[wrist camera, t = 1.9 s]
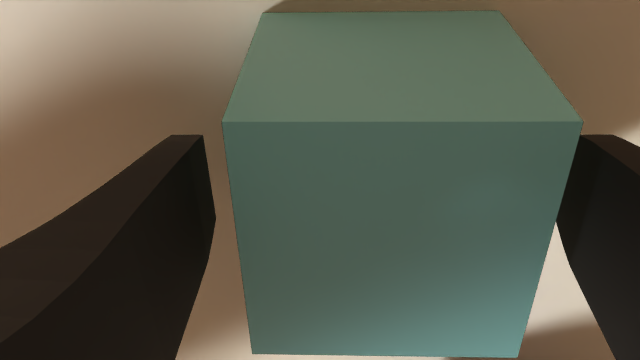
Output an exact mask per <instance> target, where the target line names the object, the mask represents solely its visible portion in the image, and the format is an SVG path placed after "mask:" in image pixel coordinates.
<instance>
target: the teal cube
mask: <svg viewBox="0 0 640 360" xmlns="http://www.w3.org/2000/svg"><path fill="white" fill-rule="evenodd" d="M583 122H584V121H583V120H582V119H581V117H580V116H579V115H578V113H577V112H576V111H575V109H574V108H573V107H572V106H571V104H570V103H569V102H568V100H567V99H566V98H565V96H564V95H563V94H562V92H561V91H560V90H559V89H558V87H557V86H556V85H555V83H554V82H553V81H552V79H551V78H550V77H549V75H548V74H547V73H546V71H545V70H544V69H543V68H542V66H541V65H540V64H539V62H538V61H537V60H536V58H535V57H534V56H533V54H532V53H531V52H530V50H529V49H528V48H527V47H526V45H525V44H524V43H523V41H522V40H521V39H520V37H519V36H518V35H517V33H516V32H515V31H514V29H513V28H512V27H511V26H510V24H509V23H508V22H507V20H506V19H505V18H504V16H503V15H502V14H501V12H500V11H396V12H280V13H262V16H261V18H260V21H259V23H258V26H257V29H256V31H255V34H254V37H253V39H252V42H251V45H250V47H249V50H248V53H247V55H246V58H245V61H244V63H243V66H242V69H241V71H240V74H239V76H238V79H237V82H236V84H235V87H234V90H233V92H232V95H231V98H230V100H229V103H228V106H227V108H226V111H225V114H224V116H223V119H222V130H223V137H224V145H225V153H226V160H227V168H228V175H229V183H230V190H231V198H232V205H233V213H234V220H235V228H236V235H237V243H238V250H239V258H240V266H241V273H242V281H243V288H244V296H245V303H246V311H247V318H248V326H249V333H250V341H251V348H252V354H288V355H357V356H426V357H495V358H517V357H518V354H519V350H520V347H521V343H522V340H523V336H524V332H525V329H526V325H527V322H528V318H529V315H530V311H531V307H532V304H533V300H534V297H535V293H536V290H537V286H538V282H539V279H540V275H541V272H542V268H543V265H544V261H545V257H546V254H547V250H548V247H549V243H550V240H551V236H552V233H553V229H554V225H555V222H556V218H557V215H558V211H559V208H560V204H561V200H562V197H563V193H564V190H565V186H566V183H567V179H568V175H569V172H570V168H571V165H572V161H573V158H574V154H575V150H576V147H577V143H578V140H579V136H580V133H581V129H582V125H583Z"/></svg>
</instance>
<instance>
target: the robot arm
mask: <svg viewBox="0 0 640 360" xmlns="http://www.w3.org/2000/svg"><path fill="white" fill-rule="evenodd" d="M215 221H216V215H215V208H214V202H213V196H212V189H211V183H210V177H209V171H208V164H207V158H206V152H205V146H204V139H203V135H171V136H169V137H168V138H166V139H165V140H163V141H162V142H160V143H159V144H158V145H156V146H155V147H153V148H152V149H151V150H149V151H148V152H147V153H146V154H144V155H143V156H142V157H140V158H139V159H138V160H136V161H135V162H134V163H132V164H131V165H130V166H128V167H127V168H126V169H124V170H123V171H122V172H120V173H119V174H118V175H116V176H115V177H114V178H112V179H111V180H110V181H108V182H107V183H106V184H104V185H103V186H101V187H100V188H98V189H97V190H95V191H94V192H92V193H91V194H90V195H88V196H87V197H85V198H84V199H82V200H81V201H79V202H78V203H76V204H75V205H73V206H72V207H70V208H69V209H67V210H66V211H64V212H63V213H61V214H60V215H58V216H56V217H55V218H53V219H52V220H50V221H48V222H47V223H45V224H43V225H42V226H40V227H38V228H36V229H35V230H33V231H31V232H29V233H27V234H26V235H24V236H22V237H20V238H18V239H17V240H15V241H13V242H11V243H9V244H7V245H5V246H3V247H1V248H0V360H175V358H176V355H177V352H178V349H179V346H180V343H181V340H182V337H183V334H184V331H185V328H186V325H187V322H188V319H189V316H190V313H191V311H192V308H193V305H194V302H195V299H196V296H197V293H198V290H199V287H200V284H201V281H202V278H203V275H204V272H205V269H206V266H207V263H208V259H209V254H210V249H211V244H212V238H213V233H214V227H215ZM556 223H557V227H558V230H559V233H560V237H561V240H562V244H563V247H564V250H565V253H566V256H567V259H568V262H569V265H570V267H571V269H572V271H573V273H574V275H575V278H576V280H577V282H578V284H579V286H580V288H581V290H582V292H583V294H584V296H585V298H586V300H587V302H588V304H589V306H590V308H591V310H592V312H593V314H594V317H595V319H596V321H597V323H598V325H599V327H600V329H601V331H602V333H603V335H604V337H605V339H606V341H607V343H608V345H609V347H610V349H611V351H612V353H613V355H614V357H615V359H616V360H640V147H638V146H636V145H634V144H632V143H630V142H628V141H626V140H624V139H622V138H619V137H617V136H615V135H580V136H579V140H578V143H577V147H576V150H575V154H574V158H573V161H572V165H571V168H570V172H569V175H568V179H567V183H566V186H565V190H564V193H563V197H562V200H561V204H560V208H559V211H558V215H557V218H556Z"/></svg>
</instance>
